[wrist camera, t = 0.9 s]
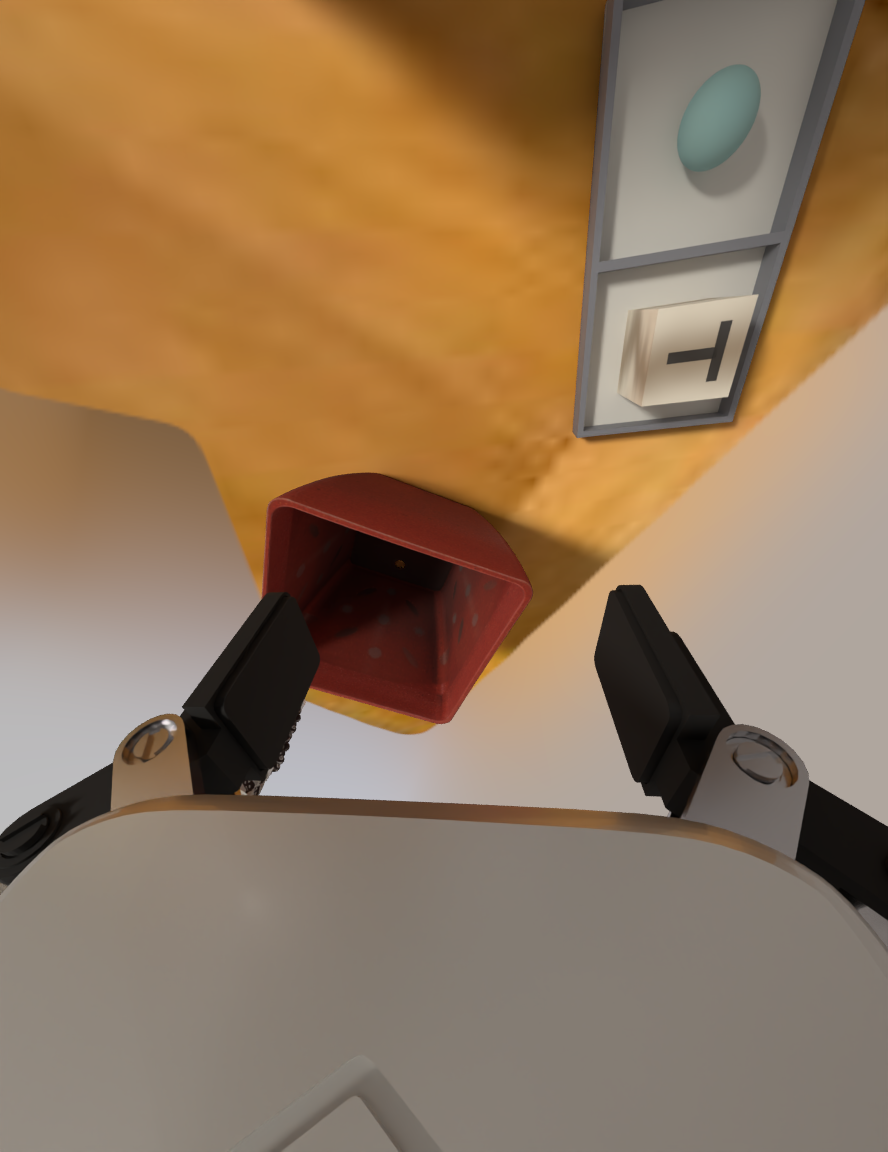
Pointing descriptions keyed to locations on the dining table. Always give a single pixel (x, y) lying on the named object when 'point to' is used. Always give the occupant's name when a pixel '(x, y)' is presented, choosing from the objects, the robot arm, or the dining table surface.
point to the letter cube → (684, 350)
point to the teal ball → (718, 118)
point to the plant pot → (394, 589)
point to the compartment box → (696, 178)
